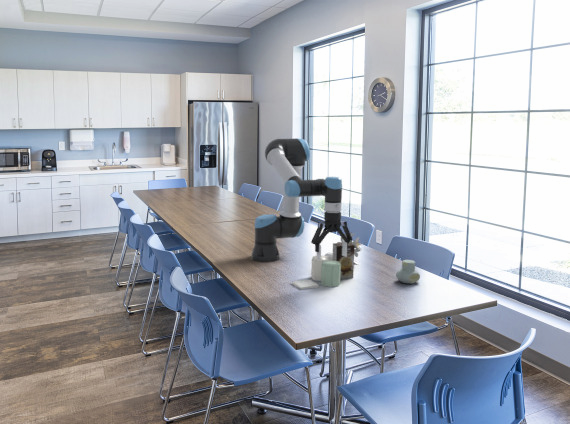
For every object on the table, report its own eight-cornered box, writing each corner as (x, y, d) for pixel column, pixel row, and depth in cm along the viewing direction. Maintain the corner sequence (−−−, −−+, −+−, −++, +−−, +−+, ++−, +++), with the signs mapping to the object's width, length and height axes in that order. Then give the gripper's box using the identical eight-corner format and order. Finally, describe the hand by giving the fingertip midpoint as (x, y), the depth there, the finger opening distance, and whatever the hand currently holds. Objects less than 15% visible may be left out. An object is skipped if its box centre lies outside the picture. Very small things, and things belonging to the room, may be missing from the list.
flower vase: (336, 285, 260) (364, 263, 276) (337, 254, 251) (366, 233, 267) (316, 275, 267) (344, 254, 284) (316, 245, 258) (345, 225, 275)
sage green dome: (318, 282, 242) (319, 261, 240) (333, 280, 245) (334, 259, 243) (327, 287, 234) (327, 266, 233) (342, 285, 238) (343, 264, 236)
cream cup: (308, 276, 250) (309, 256, 248) (323, 274, 254) (324, 254, 252) (317, 281, 243) (317, 260, 241) (332, 279, 246) (332, 259, 244)
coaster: (291, 283, 239) (291, 281, 239) (309, 281, 243) (309, 279, 243) (300, 289, 231) (300, 287, 231) (318, 287, 235) (318, 285, 235)
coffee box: (336, 279, 247) (337, 246, 244) (331, 275, 253) (332, 243, 250) (353, 277, 249) (355, 245, 246) (348, 274, 255) (349, 242, 252)
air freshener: (405, 286, 238) (406, 264, 236) (392, 281, 245) (393, 260, 243) (422, 282, 244) (423, 261, 242) (409, 277, 251) (411, 257, 249)
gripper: (312, 214, 225) (311, 262, 229) (360, 211, 236) (359, 256, 239) (304, 212, 232) (303, 258, 235) (351, 208, 242) (350, 253, 246)
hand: (331, 257), depth 237 cm, fingers open, 13 cm apart
